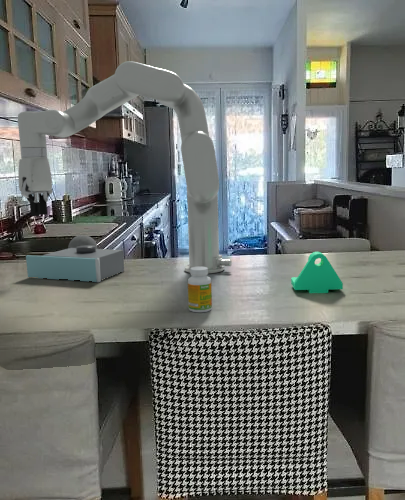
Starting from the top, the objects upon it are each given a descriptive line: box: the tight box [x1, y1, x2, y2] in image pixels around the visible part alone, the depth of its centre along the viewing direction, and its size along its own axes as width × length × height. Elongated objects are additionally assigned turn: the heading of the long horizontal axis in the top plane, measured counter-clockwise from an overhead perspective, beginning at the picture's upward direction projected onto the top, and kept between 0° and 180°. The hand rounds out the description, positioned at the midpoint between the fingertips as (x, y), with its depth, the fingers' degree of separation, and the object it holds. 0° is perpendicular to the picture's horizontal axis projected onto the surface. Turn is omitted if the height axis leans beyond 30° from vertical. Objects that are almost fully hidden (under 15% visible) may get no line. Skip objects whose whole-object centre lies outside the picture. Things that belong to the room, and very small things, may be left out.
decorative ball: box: [67, 234, 98, 249], centre depth 169 cm, size 10×10×10 cm
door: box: [25, 254, 102, 283], centre depth 143 cm, size 26×1×7 cm, turn 70°
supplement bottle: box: [187, 267, 213, 313], centre depth 109 cm, size 5×5×10 cm
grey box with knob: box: [42, 245, 125, 281], centre depth 150 cm, size 20×14×9 cm
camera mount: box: [290, 251, 344, 294], centre depth 124 cm, size 12×8×10 cm, turn 87°
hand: (39, 214), depth 148 cm, fingers open, 2 cm apart
